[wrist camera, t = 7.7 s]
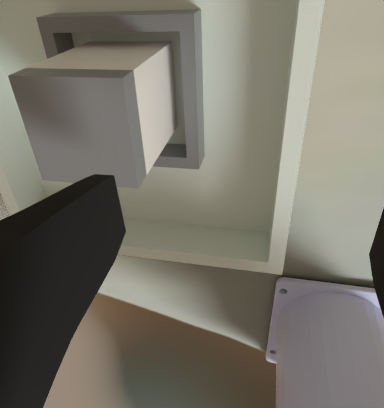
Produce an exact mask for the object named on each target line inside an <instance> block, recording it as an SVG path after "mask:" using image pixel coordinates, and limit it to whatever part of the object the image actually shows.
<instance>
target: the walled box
mask: <svg viewBox="0 0 384 408" xmlns="http://www.w3.org/2000/svg"><path fill="white" fill-rule="evenodd" d="M324 3H325V0H0V194H1V196H2V199H3V201H4V203H5V205H6V208H7V210H8V212H9V215H10V216H11V215H13V214H15V213H17V212H19V211H21V210H23V209H25V208H27V207H29V206H31V205H33V204H35V203H37V202H39V201H41V200H43V199H45V198H47V197H48V196H50V195H52V194H54V193H56V192H58V191H60V190H62V189H64V188H66V187H68V186H70V185H72V184H74V183H68V182H57V181H46V180H42V177H41V174H40V171H39V168H38V165H37V162H36V159H35V156H34V153H33V150H32V147H31V144H30V141H29V138H28V135H27V132H26V129H25V126H24V123H23V120H22V117H21V114H20V111H19V108H18V105H17V102H16V99H15V96H14V93H13V90H12V87H11V84H10V81H9V78H8V75H10V74H13V73H15V72H18V71H20V70H22V69H25V68H27V67H29V66H32V65H34V64H37V63H39V62H41V61H44V60H46V59H48V58H51V57H53V56H56V55H58V54H60V53H63V52H65V51H68V50H70V49H72V48H75V47H77V46H79V45H82V44H84V43H87V42H89V41H172V48H173V64H174V81H175V97H176V113H177V128H176V129H175V131H174V133H173V134H172V136H171V137H170V139H169V141H168V142H167V144H166V145H165V147H164V149H163V150H162V152H161V153H160V155H159V157H158V158H157V160H156V161H155V163H154V164H153V166H152V168H151V169H150V171H149V172H148V174H147V176H146V177H145V179H144V180H143V182H142V184H141V185H140V187H139V188H138V189H136V188H125V187H117V191H118V196H119V200H120V205H121V210H122V214H123V219H124V224H125V228H126V233H125V236H124V238H123V241H122V244H121V247H120V249H119V252H118V254H117V255H124V256H132V257H140V258H148V259H156V260H164V261H173V262H181V263H189V264H197V265H205V266H213V267H221V268H229V269H238V270H246V271H254V272H262V273H270V274H278V275H282V273H283V266H284V260H285V253H286V247H287V241H288V234H289V228H290V221H291V215H292V208H293V202H294V196H295V189H296V183H297V176H298V170H299V163H300V157H301V151H302V144H303V138H304V131H305V125H306V119H307V112H308V106H309V99H310V93H311V86H312V80H313V74H314V67H315V61H316V54H317V48H318V41H319V35H320V29H321V22H322V16H323V9H324Z"/></svg>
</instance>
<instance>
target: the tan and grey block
mask: <svg viewBox="0 0 384 408" xmlns="http://www.w3.org/2000/svg"><path fill="white" fill-rule="evenodd" d="M8 78H9V81H10V84H11V87H12V90H13V93H14V96H15V99H16V102H17V105H18V108H19V111H20V114H21V117H22V120H23V123H24V126H25V129H26V132H27V135H28V138H29V141H30V144H31V147H32V150H33V153H34V156H35V159H36V162H37V165H38V168H39V171H40V174H41V177H42V180H46V181H57V182H68V183H76V182H78V181H80V180H82V179H84V178H86V177H89V176H91V175H94V174H101V175H114V177H115V182H116V186H117V187H125V188H136V189H138V188H139V187H140V185H141V184H142V182H143V180H144V179H145V177H146V176H147V174H148V172H149V171H150V169H151V168H152V166H153V164H154V163H155V161H156V160H157V158H158V157H159V155H160V153H161V152H162V150H163V149H164V147H165V145H166V144H167V142H168V141H169V139H170V137H171V136H172V134H173V133H174V131H175V129H176V128H177V113H176V97H175V81H174V64H173V48H172V41H89V42H87V43H84V44H82V45H79V46H77V47H75V48H72V49H70V50H68V51H65V52H63V53H60V54H58V55H56V56H53V57H51V58H48V59H46V60H44V61H41V62H39V63H37V64H34V65H32V66H29V67H27V68H25V69H22V70H20V71H18V72H15V73H13V74H10V75H8Z"/></svg>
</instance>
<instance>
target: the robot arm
mask: <svg viewBox="0 0 384 408" xmlns="http://www.w3.org/2000/svg"><path fill="white" fill-rule="evenodd" d="M125 233H126V228H125V224H124V219H123V214H122V210H121V205H120V200H119V196H118V191H117V186H116V182H115V177H114V175H101V174H94V175H91V176H89V177H86V178H84V179H82V180H80V181H78V182H76V183H74V184H72V185H70V186H68V187H66V188H64V189H62V190H60V191H58V192H56V193H54V194H52V195H50V196H48V197H47V198H45V199H43V200H41V201H39V202H37V203H35V204H33V205H31V206H29V207H27V208H25V209H23V210H21V211H19V212H17V213H15V214H13V215H11V216H9V217H7V218H5V219H3V220H0V408H43V406H44V403H45V401H46V398H47V396H48V393H49V391H50V388H51V386H52V383H53V381H54V378H55V376H56V373H57V371H58V369H59V367H60V364H61V362H62V360H63V357H64V355H65V353H66V350H67V348H68V346H69V344H70V341H71V339H72V337H73V335H74V333H75V331H76V329H77V327H78V325H79V323H80V322H81V320H82V318H83V316H84V315H85V313H86V311H87V309H88V307H89V306H90V304H91V302H92V301H93V299H94V297H95V295H96V294H97V292H98V290H99V288H100V286H101V285H102V283H103V281H104V279H105V278H106V276H107V274H108V272H109V270H110V268H111V267H112V265H113V263H114V261H115V259H116V256H117V254H118V252H119V249H120V247H121V244H122V241H123V238H124V236H125ZM369 256H370V263H371V270H372V276H373V282H374V288H367V287H359V286H351V285H343V284H335V283H327V282H319V281H311V280H303V279H295V278H287V277H281V278H279V279H277V281H276V287H275V294H274V301H273V308H272V315H271V322H270V329H269V336H268V343H267V350H266V360H267V361H269V362H271V363H277V368H276V408H384V209H383V212H382V215H381V218H380V222H379V225H378V228H377V231H376V234H375V237H374V241H373V244H372V247H371V250H370V253H369ZM282 289H285V290H282Z"/></svg>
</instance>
